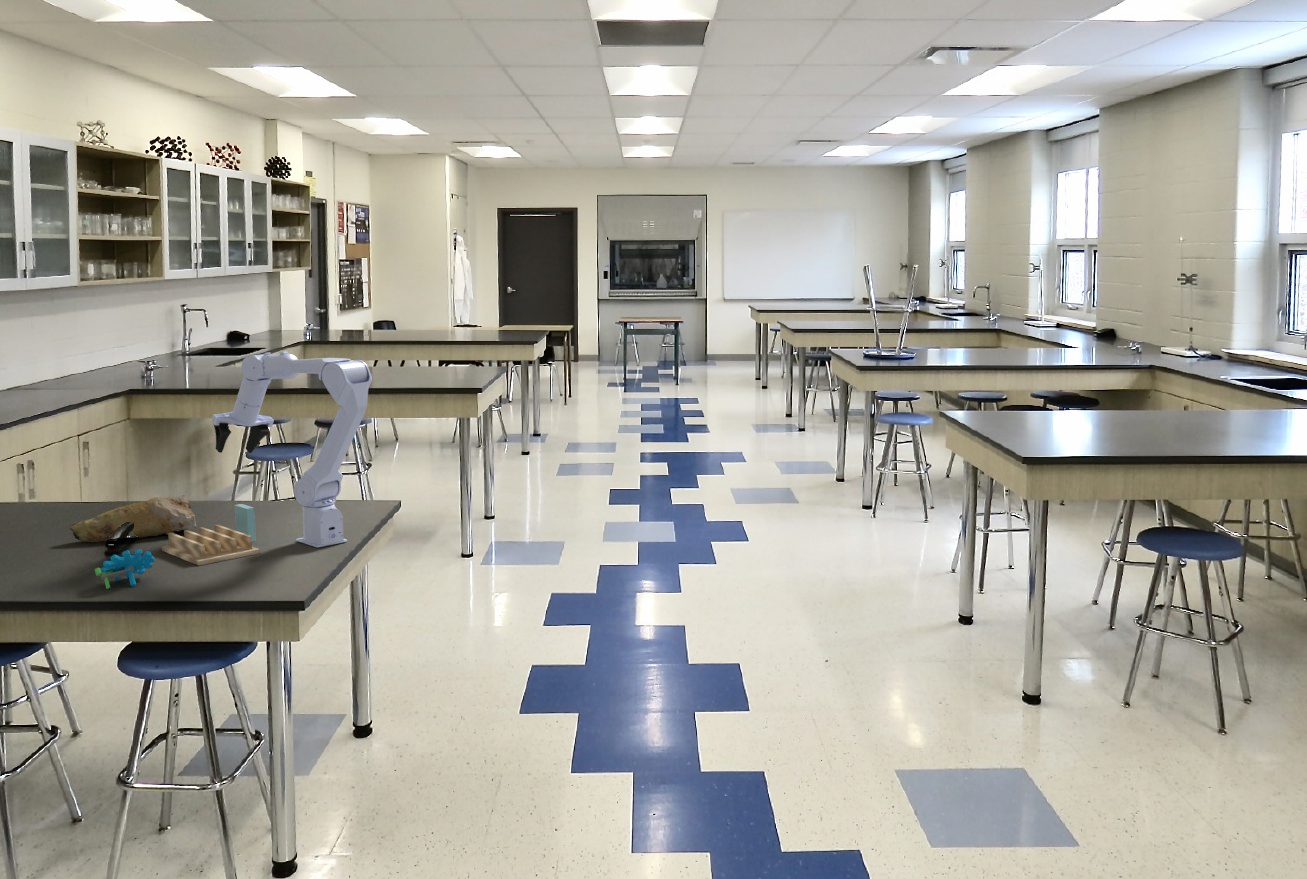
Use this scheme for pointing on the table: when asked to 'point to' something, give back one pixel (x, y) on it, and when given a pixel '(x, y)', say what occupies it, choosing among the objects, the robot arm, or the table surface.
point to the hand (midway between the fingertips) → (233, 450)
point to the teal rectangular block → (245, 520)
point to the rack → (210, 545)
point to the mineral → (139, 519)
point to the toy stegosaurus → (125, 566)
